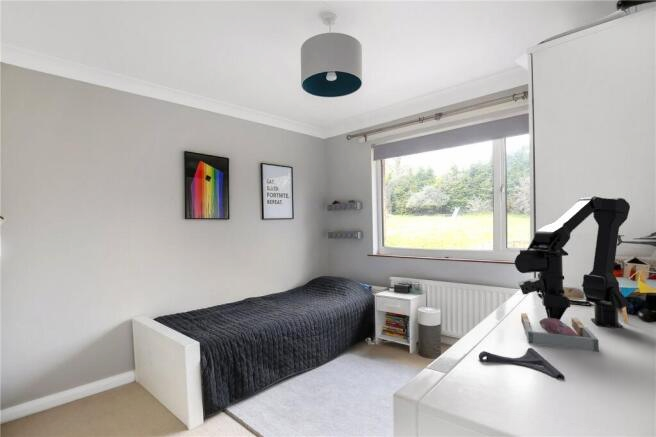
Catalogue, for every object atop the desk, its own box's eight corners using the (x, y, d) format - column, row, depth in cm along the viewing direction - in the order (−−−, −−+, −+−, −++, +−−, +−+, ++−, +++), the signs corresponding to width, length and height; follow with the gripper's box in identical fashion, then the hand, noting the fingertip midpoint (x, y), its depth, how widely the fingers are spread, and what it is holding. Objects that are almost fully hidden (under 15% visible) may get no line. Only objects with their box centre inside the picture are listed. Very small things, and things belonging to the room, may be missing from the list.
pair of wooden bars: (521, 320, 107) (521, 313, 107) (577, 326, 101) (577, 318, 101) (524, 330, 98) (524, 321, 98) (586, 337, 92) (586, 328, 92)
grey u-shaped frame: (524, 330, 98) (524, 320, 98) (587, 337, 91) (586, 327, 91) (528, 343, 88) (528, 331, 88) (598, 351, 81) (598, 339, 82)
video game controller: (544, 339, 95) (533, 318, 95) (557, 331, 95) (546, 310, 95) (572, 352, 85) (560, 329, 85) (586, 343, 85) (575, 320, 85)
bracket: (471, 351, 85) (471, 340, 85) (534, 354, 82) (533, 343, 82) (488, 378, 71) (488, 365, 71) (564, 382, 68) (564, 369, 68)
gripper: (517, 265, 110) (518, 311, 110) (522, 274, 93) (523, 329, 93) (557, 266, 105) (558, 314, 105) (570, 277, 88) (571, 334, 88)
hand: (552, 322), depth 98 cm, fingers open, 7 cm apart
